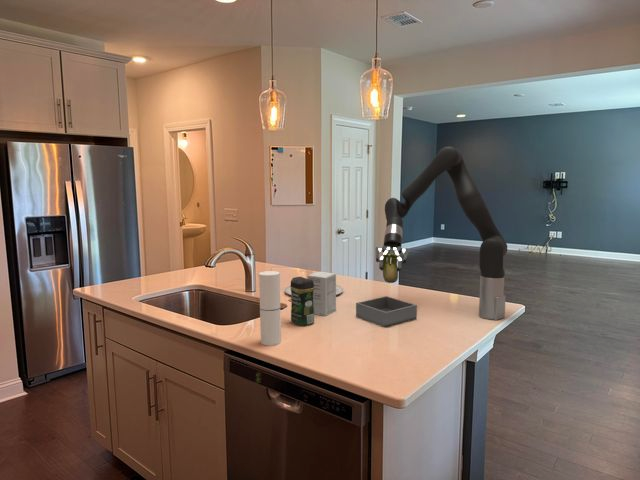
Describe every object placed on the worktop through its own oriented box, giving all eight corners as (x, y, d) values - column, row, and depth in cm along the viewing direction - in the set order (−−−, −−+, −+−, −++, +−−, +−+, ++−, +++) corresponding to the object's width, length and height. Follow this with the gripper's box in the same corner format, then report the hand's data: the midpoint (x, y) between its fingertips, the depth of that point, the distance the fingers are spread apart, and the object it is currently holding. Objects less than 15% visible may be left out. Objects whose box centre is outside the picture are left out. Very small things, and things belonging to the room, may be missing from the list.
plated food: (273, 291, 231) (273, 285, 230) (319, 283, 249) (319, 277, 248) (307, 304, 207) (307, 297, 207) (355, 293, 225) (355, 287, 225)
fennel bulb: (381, 282, 185) (381, 253, 183) (388, 280, 188) (389, 252, 186) (392, 284, 180) (393, 255, 179) (399, 282, 184) (400, 253, 182)
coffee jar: (287, 321, 181) (286, 277, 178) (303, 317, 186) (303, 274, 183) (301, 327, 173) (300, 281, 171) (317, 323, 178) (317, 278, 176)
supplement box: (318, 307, 200) (318, 271, 198) (336, 310, 196) (336, 273, 193) (307, 313, 192) (306, 275, 190) (325, 316, 187) (325, 277, 185)
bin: (416, 319, 183) (416, 305, 182) (385, 327, 173) (385, 312, 172) (386, 309, 197) (386, 296, 196) (356, 316, 187) (356, 302, 186)
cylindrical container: (262, 346, 154) (260, 275, 151) (259, 339, 161) (257, 271, 158) (282, 344, 156) (281, 274, 153) (279, 337, 163) (277, 270, 159)
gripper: (375, 231, 190) (371, 264, 181) (410, 232, 187) (407, 265, 177) (377, 242, 196) (373, 274, 187) (410, 243, 193) (408, 275, 183)
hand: (389, 269), depth 182 cm, fingers closed on fennel bulb, 6 cm apart
